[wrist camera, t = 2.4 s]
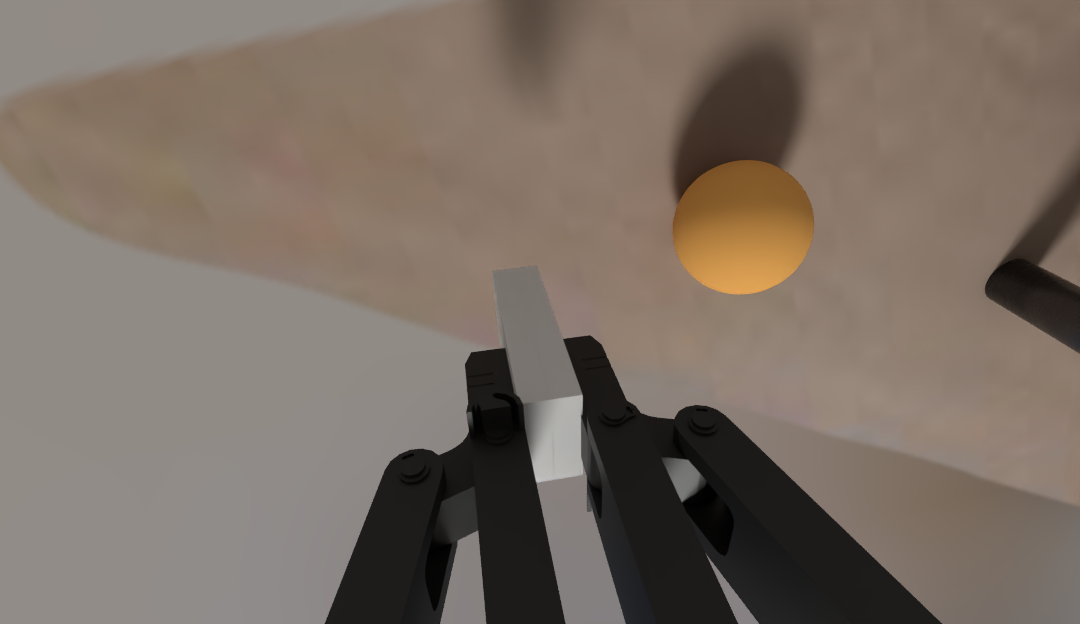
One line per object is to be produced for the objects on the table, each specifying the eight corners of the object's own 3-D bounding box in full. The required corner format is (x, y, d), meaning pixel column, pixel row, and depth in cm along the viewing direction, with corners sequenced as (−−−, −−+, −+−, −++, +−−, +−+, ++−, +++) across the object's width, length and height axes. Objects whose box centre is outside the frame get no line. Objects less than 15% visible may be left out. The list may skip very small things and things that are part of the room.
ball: (781, 138, 24) (861, 179, 19) (759, 251, 27) (825, 311, 22) (659, 149, 23) (713, 194, 19) (651, 263, 26) (695, 327, 22)
